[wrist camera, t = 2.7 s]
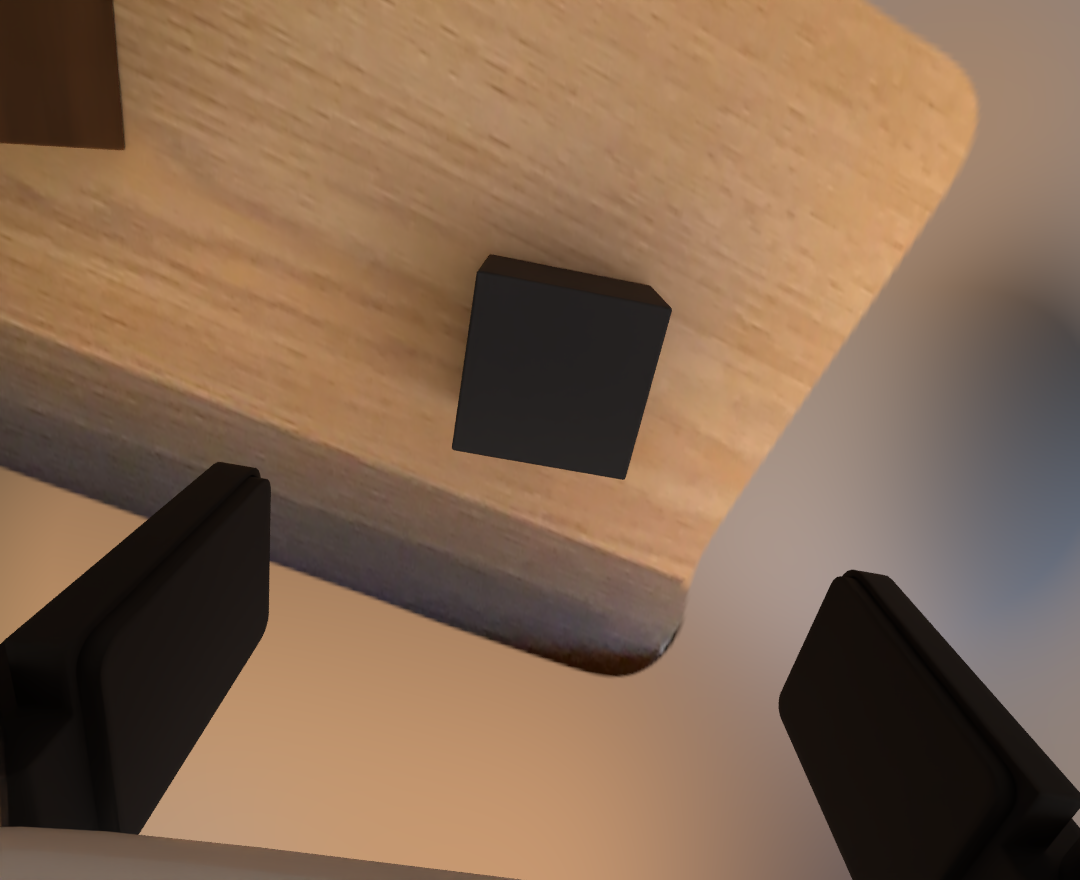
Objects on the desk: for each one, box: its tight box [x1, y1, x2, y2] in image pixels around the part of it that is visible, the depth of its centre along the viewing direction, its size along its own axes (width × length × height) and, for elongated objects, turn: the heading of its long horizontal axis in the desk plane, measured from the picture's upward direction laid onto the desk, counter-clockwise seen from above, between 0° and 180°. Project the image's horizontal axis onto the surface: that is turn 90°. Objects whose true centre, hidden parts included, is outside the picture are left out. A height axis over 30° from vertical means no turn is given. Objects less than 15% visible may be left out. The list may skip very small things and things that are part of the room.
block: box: [452, 255, 672, 480], centre depth 21 cm, size 6×6×4 cm
